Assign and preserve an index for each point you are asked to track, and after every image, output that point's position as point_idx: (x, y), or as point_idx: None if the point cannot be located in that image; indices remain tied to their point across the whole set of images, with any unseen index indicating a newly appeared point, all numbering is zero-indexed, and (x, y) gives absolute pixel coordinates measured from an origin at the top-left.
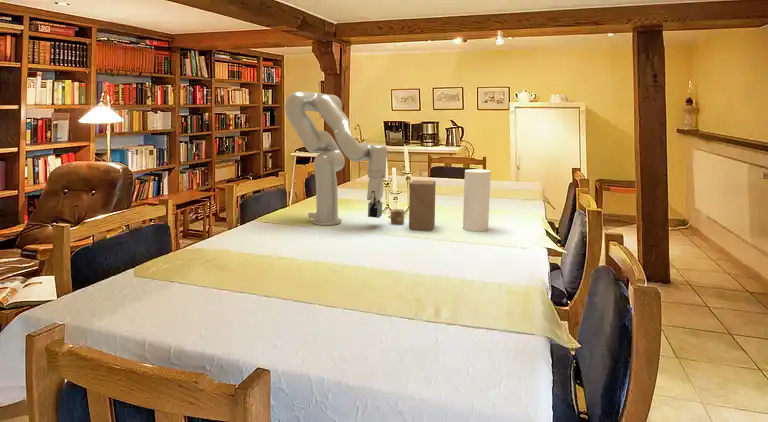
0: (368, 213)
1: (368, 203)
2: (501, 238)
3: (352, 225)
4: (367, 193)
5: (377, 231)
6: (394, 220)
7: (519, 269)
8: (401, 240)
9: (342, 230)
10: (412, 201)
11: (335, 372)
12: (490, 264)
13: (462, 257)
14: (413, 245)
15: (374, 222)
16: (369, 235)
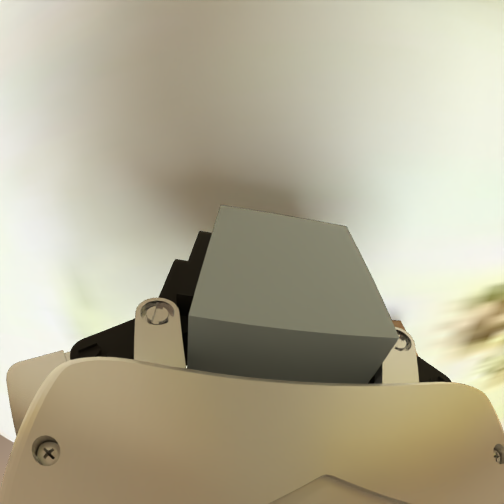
0: (215, 228)
1: (190, 312)
2: None
3: (306, 43)
4: (11, 480)
5: (129, 251)
6: None
7: (12, 436)
8: (32, 343)
9: (123, 7)
10: None
11: None
12: (5, 423)
13: (6, 409)
14: (10, 361)
15: (407, 215)
16: (37, 215)
